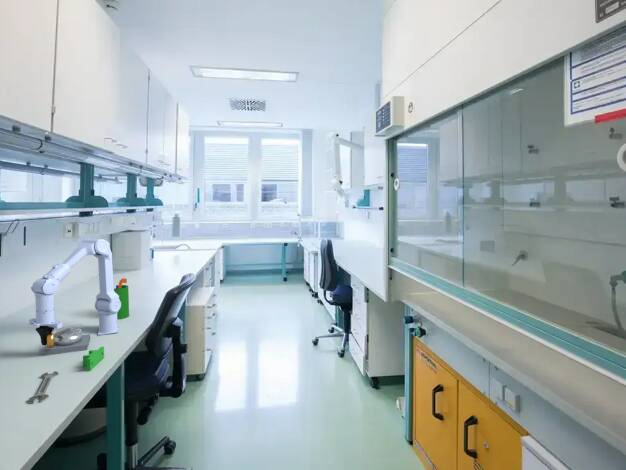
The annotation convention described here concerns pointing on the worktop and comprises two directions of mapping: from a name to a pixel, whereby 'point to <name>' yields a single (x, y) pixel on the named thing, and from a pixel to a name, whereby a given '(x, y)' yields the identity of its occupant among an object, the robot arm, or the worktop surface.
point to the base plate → (69, 347)
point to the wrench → (43, 387)
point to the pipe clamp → (93, 358)
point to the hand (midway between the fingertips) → (46, 344)
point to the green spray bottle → (123, 299)
